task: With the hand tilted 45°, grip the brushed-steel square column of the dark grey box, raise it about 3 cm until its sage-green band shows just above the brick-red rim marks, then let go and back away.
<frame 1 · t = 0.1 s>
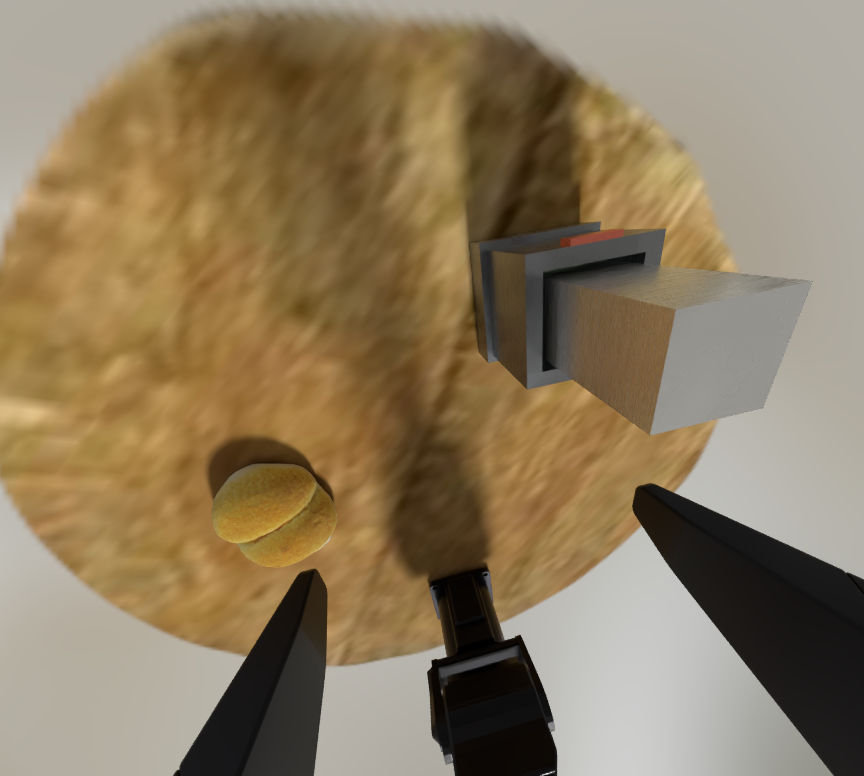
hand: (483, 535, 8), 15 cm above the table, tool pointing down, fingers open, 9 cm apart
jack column: (601, 319, 14), point 8 cm above the table, slide at 0.0 cm
bread roll: (283, 500, 26), on the table
dark grey box: (526, 292, 21), on the table
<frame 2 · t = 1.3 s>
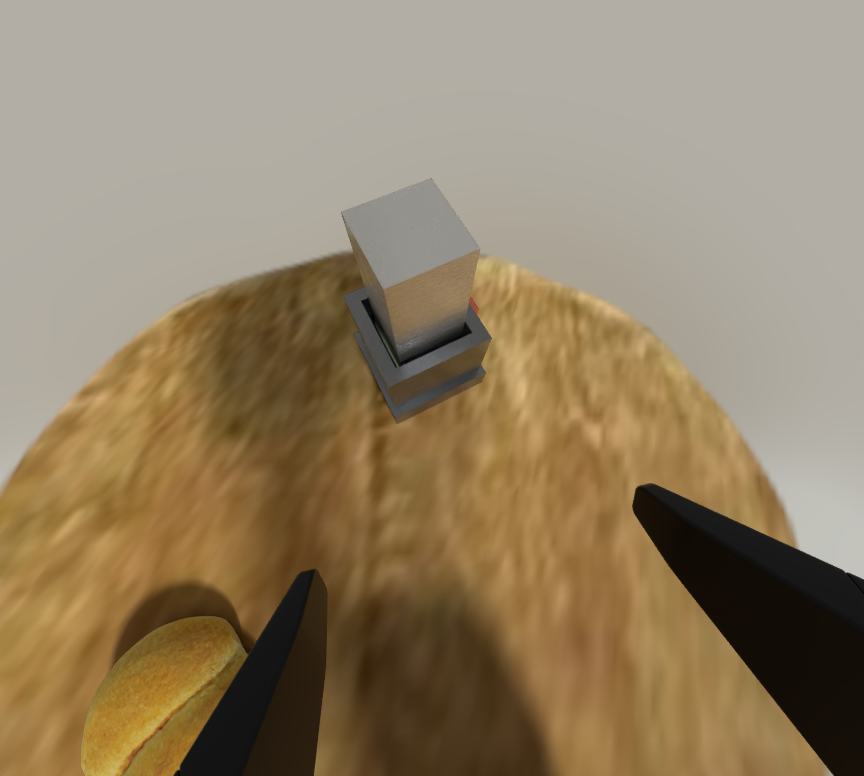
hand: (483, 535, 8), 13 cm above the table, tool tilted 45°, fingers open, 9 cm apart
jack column: (415, 308, 17), point 8 cm above the table, slide at 0.0 cm
bread roll: (200, 699, 18), on the table
dark grey box: (419, 363, 25), on the table
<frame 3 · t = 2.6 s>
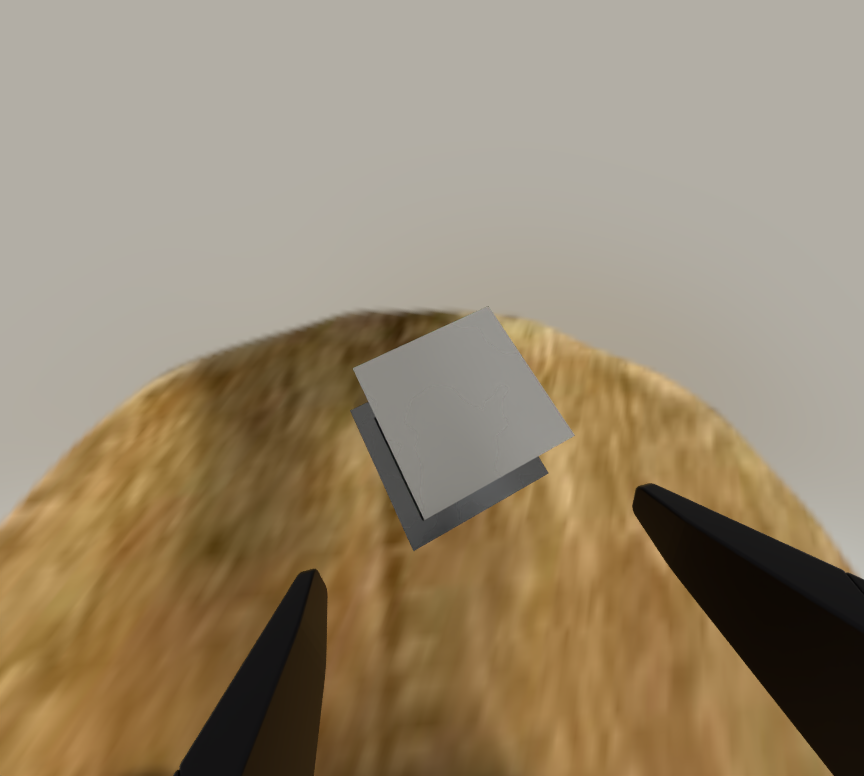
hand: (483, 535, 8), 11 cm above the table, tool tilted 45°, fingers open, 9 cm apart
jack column: (447, 437, 13), point 8 cm above the table, slide at 0.0 cm
dark grey box: (440, 457, 20), on the table
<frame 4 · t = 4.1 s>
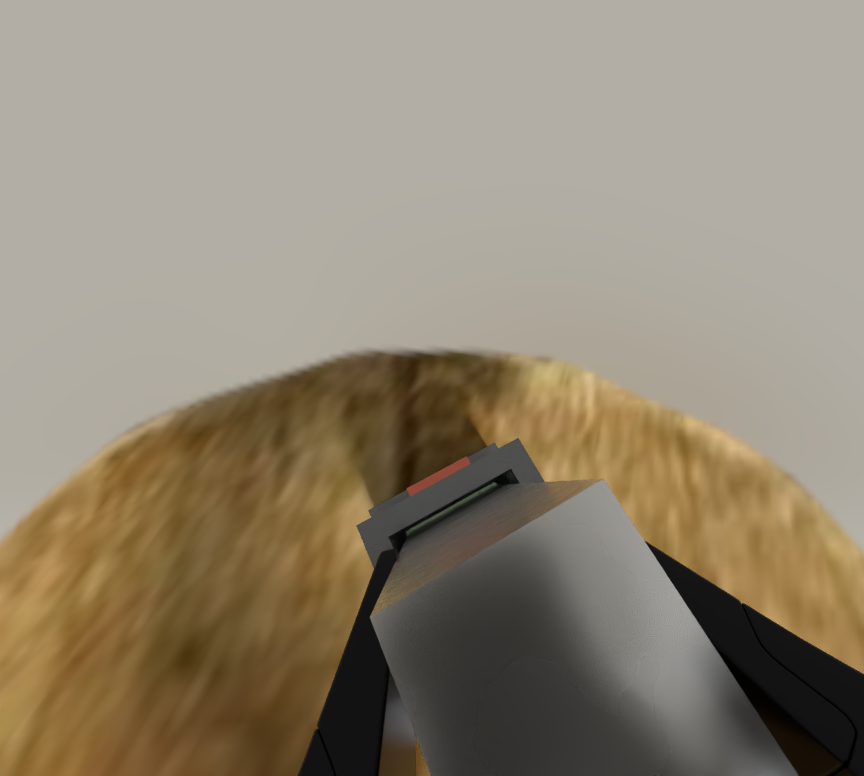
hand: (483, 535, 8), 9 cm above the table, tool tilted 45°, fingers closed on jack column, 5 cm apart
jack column: (491, 578, 9), point 8 cm above the table, slide at 0.0 cm, touching gripper
dark grey box: (464, 538, 17), on the table
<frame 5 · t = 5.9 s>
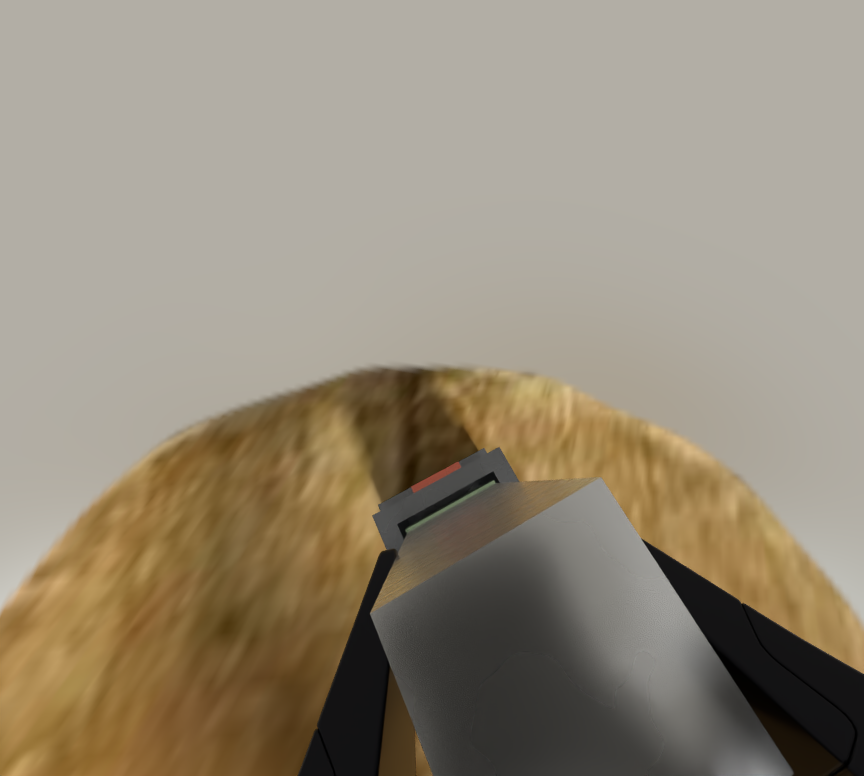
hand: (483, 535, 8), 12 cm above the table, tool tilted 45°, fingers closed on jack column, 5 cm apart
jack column: (490, 575, 9), point 11 cm above the table, slide at 3.1 cm, touching gripper
dark grey box: (458, 529, 20), on the table
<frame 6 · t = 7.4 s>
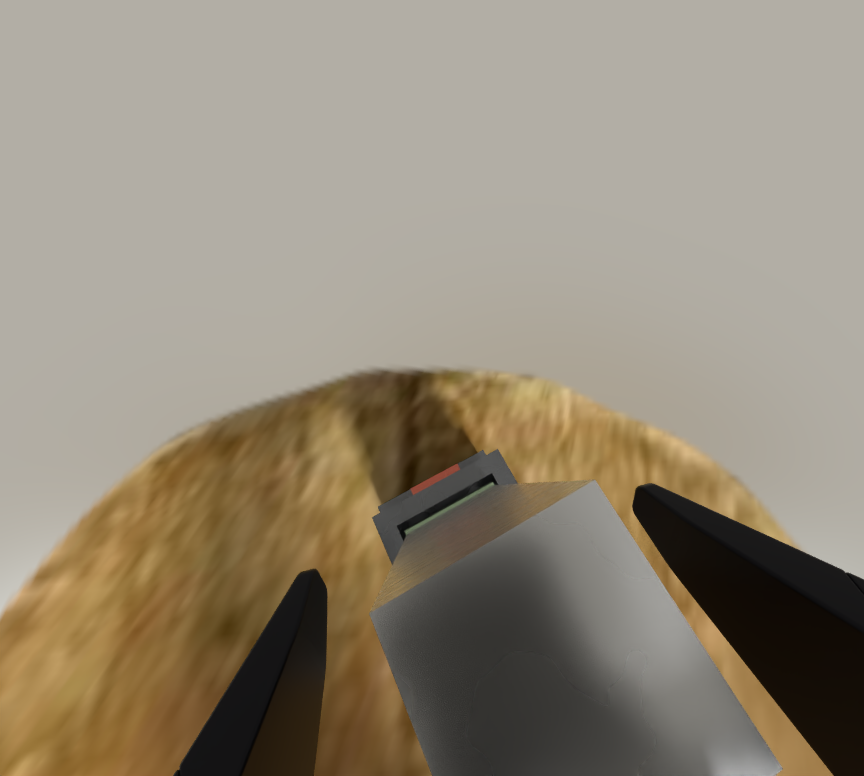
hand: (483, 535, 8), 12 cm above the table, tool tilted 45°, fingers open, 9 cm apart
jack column: (489, 577, 9), point 11 cm above the table, slide at 3.1 cm
dark grey box: (457, 530, 20), on the table
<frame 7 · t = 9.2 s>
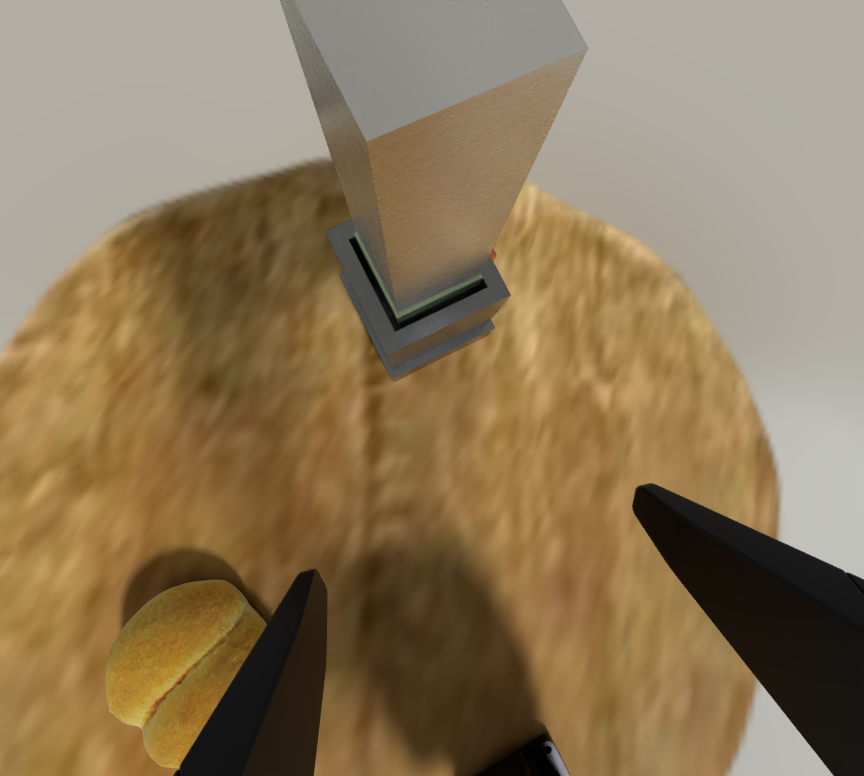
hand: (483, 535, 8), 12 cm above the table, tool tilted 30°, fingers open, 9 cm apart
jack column: (419, 208, 10), point 11 cm above the table, slide at 3.1 cm
bread roll: (215, 646, 20), on the table
dark grey box: (417, 311, 21), on the table
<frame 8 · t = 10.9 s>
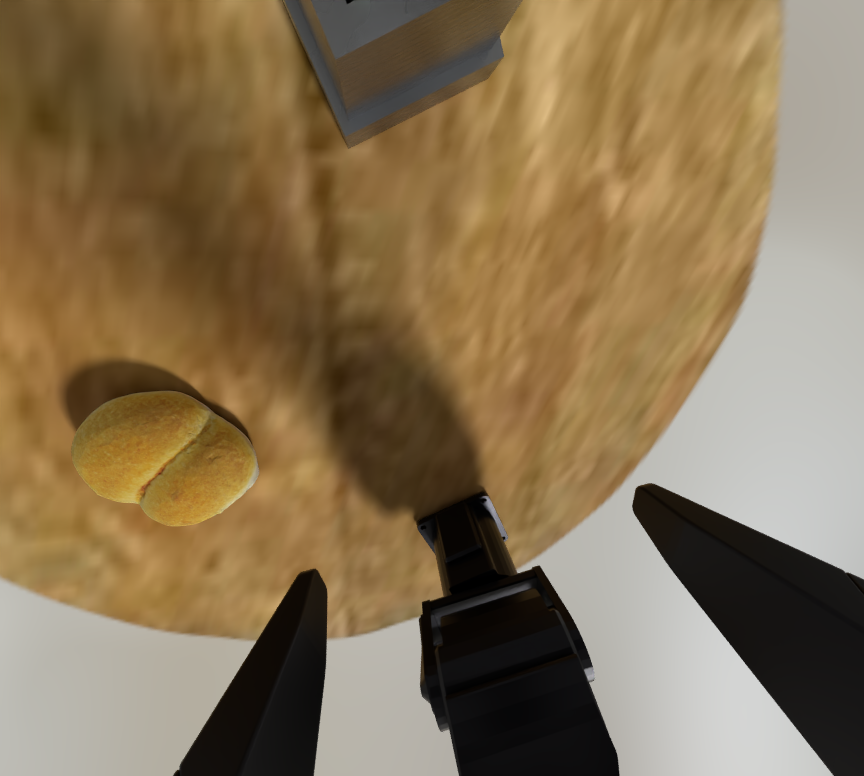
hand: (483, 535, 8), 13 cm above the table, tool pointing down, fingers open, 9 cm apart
bread roll: (189, 446, 20), on the table
dark grey box: (381, 8, 13), on the table
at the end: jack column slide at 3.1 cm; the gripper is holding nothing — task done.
